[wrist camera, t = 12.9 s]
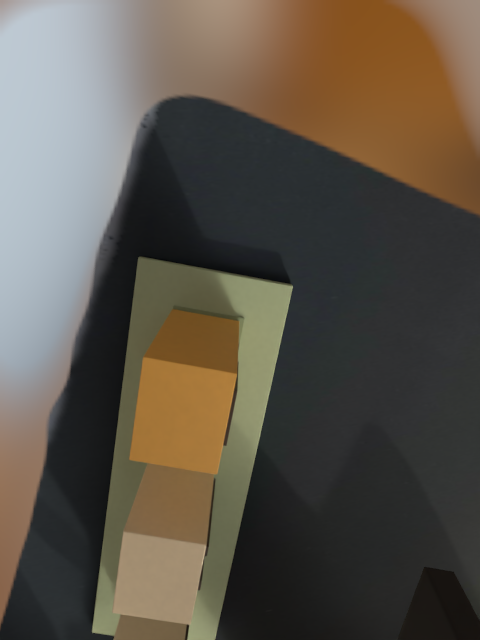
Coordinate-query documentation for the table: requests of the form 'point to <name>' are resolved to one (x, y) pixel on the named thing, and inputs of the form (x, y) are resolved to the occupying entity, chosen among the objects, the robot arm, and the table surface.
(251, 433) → the board
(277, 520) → the table surface
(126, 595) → the U tile
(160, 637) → the wooden letter block
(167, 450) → the orange block
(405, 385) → the table surface
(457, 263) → the table surface
